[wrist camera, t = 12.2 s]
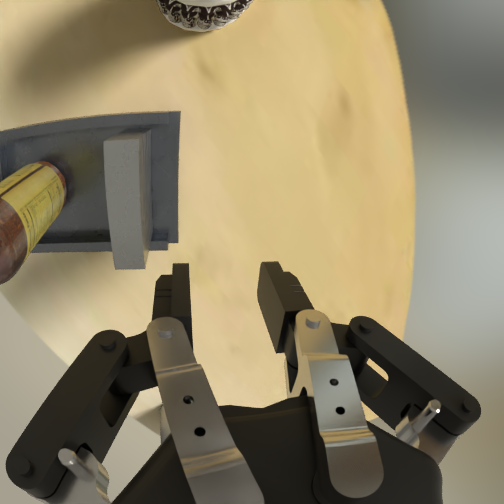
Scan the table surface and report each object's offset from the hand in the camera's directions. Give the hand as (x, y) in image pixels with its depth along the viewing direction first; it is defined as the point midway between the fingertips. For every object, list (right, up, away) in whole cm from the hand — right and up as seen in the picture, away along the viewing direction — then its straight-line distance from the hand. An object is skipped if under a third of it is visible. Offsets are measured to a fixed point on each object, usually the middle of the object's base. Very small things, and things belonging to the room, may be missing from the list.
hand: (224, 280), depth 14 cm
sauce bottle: (-19, +8, +10) cm, 23 cm away
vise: (-16, +8, +12) cm, 22 cm away
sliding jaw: (-9, +8, +12) cm, 17 cm away
